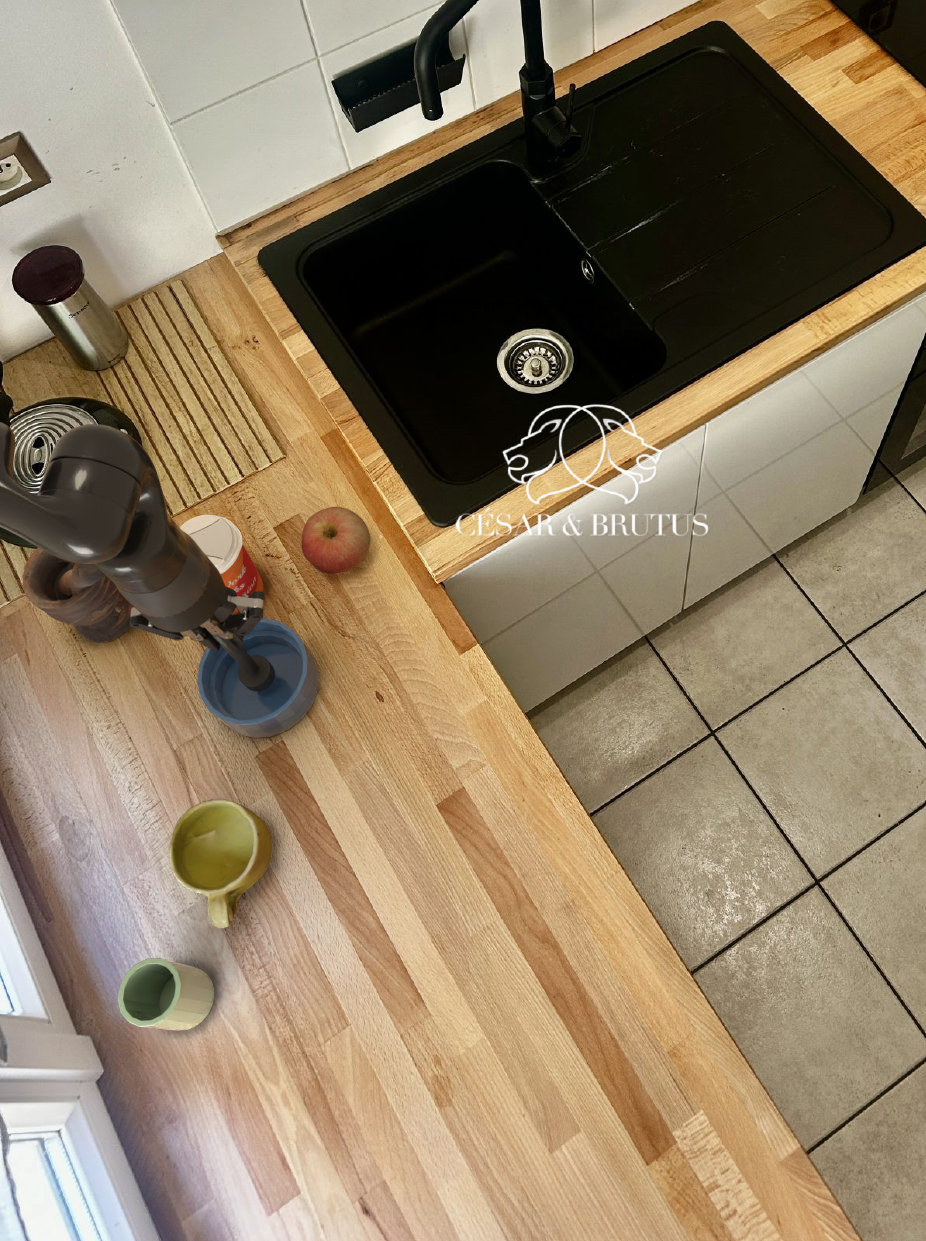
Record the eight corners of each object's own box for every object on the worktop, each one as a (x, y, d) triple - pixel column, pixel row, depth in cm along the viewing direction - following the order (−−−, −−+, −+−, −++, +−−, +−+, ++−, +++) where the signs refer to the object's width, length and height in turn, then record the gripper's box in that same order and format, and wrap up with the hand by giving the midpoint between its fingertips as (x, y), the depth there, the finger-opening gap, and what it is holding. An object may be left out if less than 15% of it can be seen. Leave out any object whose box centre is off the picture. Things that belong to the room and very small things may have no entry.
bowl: (210, 742, 128) (192, 727, 123) (219, 640, 134) (203, 622, 129) (317, 735, 128) (304, 720, 123) (322, 633, 134) (309, 614, 129)
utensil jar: (153, 1032, 115) (114, 1028, 106) (160, 969, 117) (122, 960, 108) (211, 1028, 114) (177, 1024, 106) (217, 965, 117) (183, 956, 108)
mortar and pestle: (177, 581, 138) (111, 508, 120) (162, 650, 133) (91, 585, 116) (82, 579, 138) (3, 506, 120) (64, 648, 134) (-21, 583, 116)
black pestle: (241, 692, 127) (191, 642, 112) (244, 661, 129) (194, 608, 114) (274, 690, 127) (227, 640, 112) (276, 659, 129) (230, 605, 114)
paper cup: (209, 627, 135) (167, 581, 122) (206, 568, 138) (165, 518, 126) (276, 614, 135) (241, 566, 123) (271, 555, 139) (236, 504, 126)
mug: (179, 796, 124) (174, 796, 114) (277, 801, 126) (280, 801, 117) (161, 918, 120) (155, 928, 111) (263, 920, 123) (264, 931, 113)
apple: (373, 583, 137) (360, 556, 130) (306, 585, 137) (289, 558, 130) (378, 522, 140) (365, 492, 133) (313, 524, 140) (296, 494, 133)
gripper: (246, 532, 104) (295, 602, 120) (96, 543, 104) (164, 611, 120) (239, 610, 101) (291, 672, 116) (84, 621, 101) (156, 681, 116)
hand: (226, 641), depth 118 cm, fingers closed on black pestle, 1 cm apart
